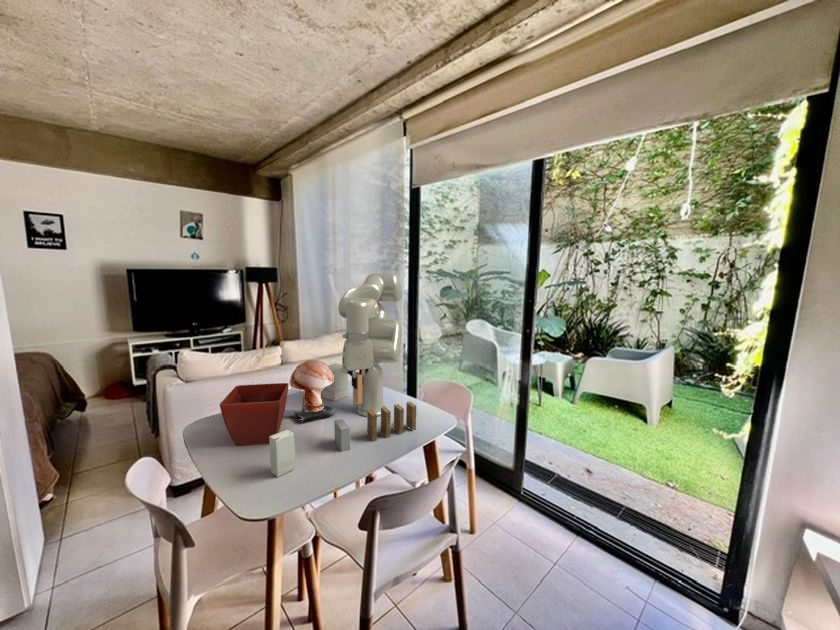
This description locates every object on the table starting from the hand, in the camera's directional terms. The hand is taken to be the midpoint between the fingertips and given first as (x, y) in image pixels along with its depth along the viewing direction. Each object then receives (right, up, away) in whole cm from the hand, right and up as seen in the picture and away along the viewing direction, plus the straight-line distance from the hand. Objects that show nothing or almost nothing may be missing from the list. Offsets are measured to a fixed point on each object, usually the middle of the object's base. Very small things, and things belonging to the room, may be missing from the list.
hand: (357, 387), depth 122 cm
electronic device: (-21, -17, +23) cm, 36 cm away
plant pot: (-37, -19, +5) cm, 42 cm away
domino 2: (+9, -20, +9) cm, 23 cm away
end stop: (-6, -21, 0) cm, 21 cm away
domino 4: (+18, -19, +14) cm, 30 cm away
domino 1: (+4, -20, +6) cm, 21 cm away
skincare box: (-20, -23, -16) cm, 34 cm away
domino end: (0, -5, +1) cm, 5 cm away
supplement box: (-19, -14, +44) cm, 50 cm away
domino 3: (+14, -19, +11) cm, 26 cm away
